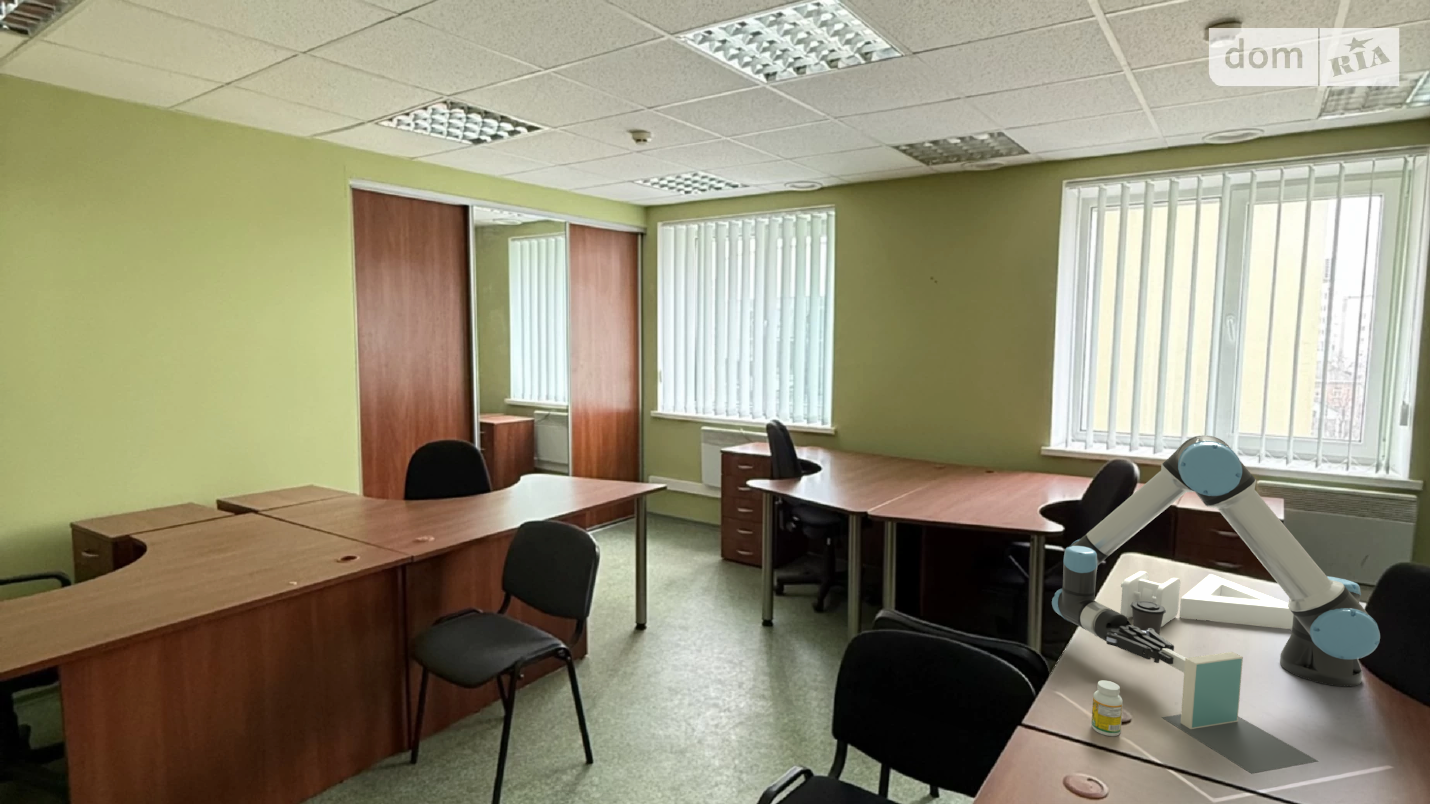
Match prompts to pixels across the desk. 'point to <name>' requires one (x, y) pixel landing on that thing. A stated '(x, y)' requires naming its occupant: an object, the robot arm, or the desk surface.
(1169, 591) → the cable organizer
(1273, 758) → the mat
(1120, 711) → the supplement bottle
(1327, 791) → the desk surface
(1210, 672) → the tile
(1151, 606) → the coffee cup
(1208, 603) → the triangle block
